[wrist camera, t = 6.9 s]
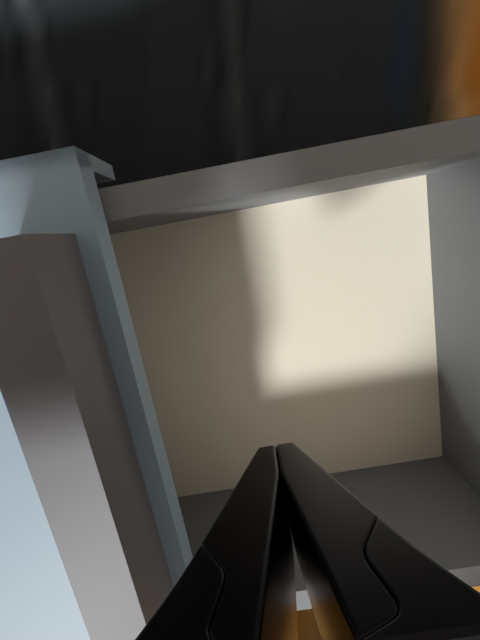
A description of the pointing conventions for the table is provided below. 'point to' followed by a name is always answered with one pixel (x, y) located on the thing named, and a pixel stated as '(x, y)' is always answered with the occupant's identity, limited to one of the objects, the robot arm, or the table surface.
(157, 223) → the open gray box
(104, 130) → the table surface
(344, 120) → the table surface
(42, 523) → the lid
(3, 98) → the table surface
